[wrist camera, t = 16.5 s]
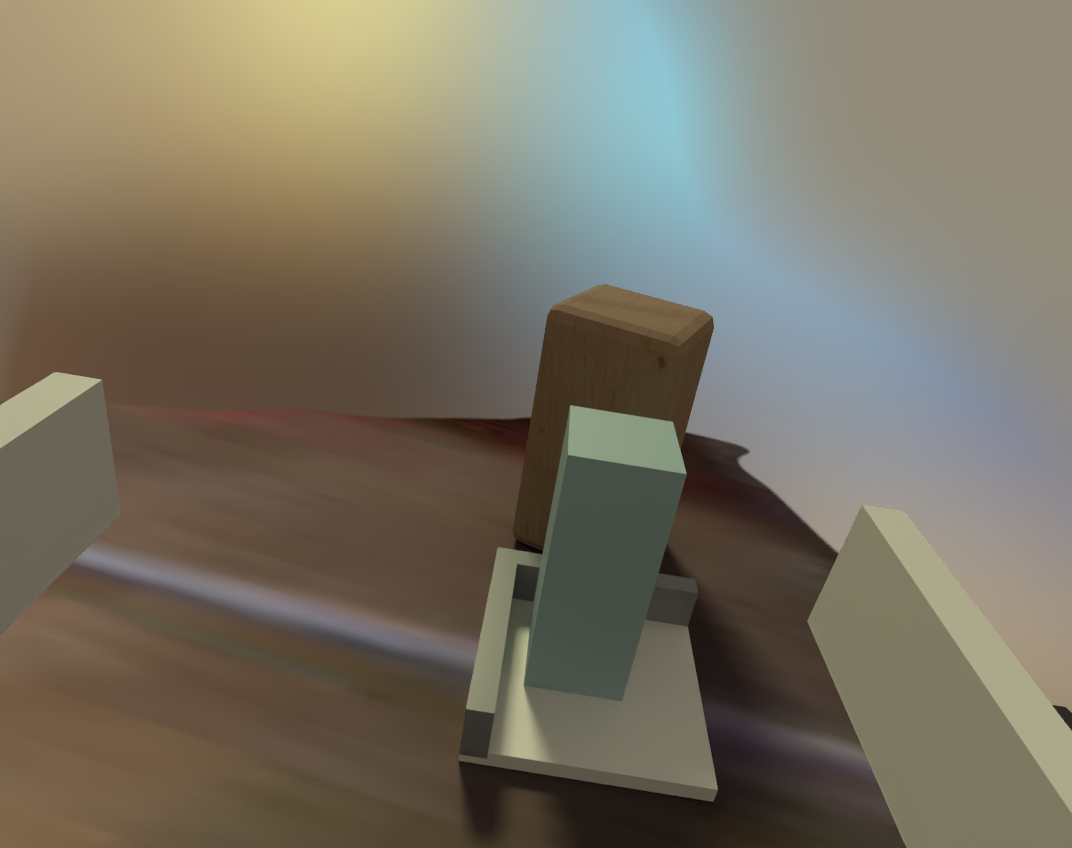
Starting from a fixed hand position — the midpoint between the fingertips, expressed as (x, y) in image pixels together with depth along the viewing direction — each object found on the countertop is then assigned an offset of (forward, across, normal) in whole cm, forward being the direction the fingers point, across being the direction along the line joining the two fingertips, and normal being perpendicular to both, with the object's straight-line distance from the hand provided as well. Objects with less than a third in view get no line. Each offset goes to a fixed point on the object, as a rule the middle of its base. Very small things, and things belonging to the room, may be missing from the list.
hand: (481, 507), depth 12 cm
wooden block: (+37, +8, -27) cm, 47 cm away
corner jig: (+21, +8, -27) cm, 35 cm away
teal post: (+22, +7, -26) cm, 35 cm away
